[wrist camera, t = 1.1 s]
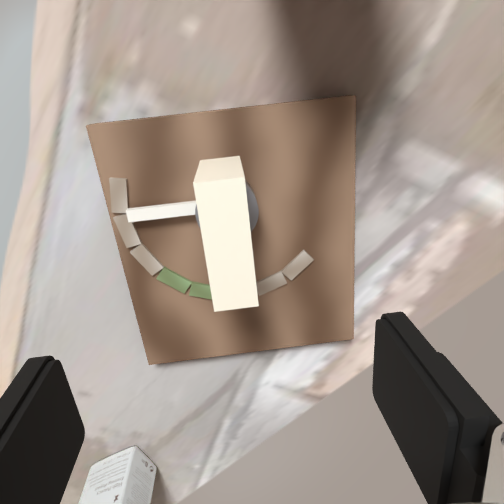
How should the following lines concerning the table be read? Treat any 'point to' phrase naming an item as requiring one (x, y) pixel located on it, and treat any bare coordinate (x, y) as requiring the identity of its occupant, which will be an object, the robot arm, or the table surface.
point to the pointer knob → (220, 229)
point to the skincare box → (120, 479)
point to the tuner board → (263, 235)
